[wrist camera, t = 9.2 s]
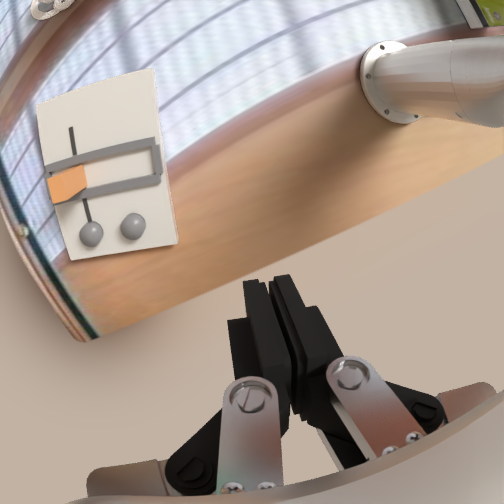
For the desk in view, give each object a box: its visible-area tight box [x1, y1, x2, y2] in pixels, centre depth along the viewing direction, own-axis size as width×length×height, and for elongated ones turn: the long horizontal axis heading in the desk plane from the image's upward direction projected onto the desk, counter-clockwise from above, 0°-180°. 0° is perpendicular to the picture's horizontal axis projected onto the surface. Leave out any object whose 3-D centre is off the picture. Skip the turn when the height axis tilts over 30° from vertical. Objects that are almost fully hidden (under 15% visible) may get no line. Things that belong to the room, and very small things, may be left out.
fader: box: [47, 164, 88, 204], centre depth 27 cm, size 2×3×6 cm
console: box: [36, 68, 179, 260], centre depth 30 cm, size 16×22×4 cm
